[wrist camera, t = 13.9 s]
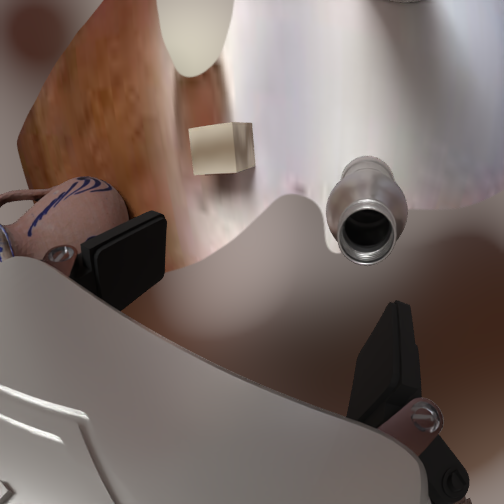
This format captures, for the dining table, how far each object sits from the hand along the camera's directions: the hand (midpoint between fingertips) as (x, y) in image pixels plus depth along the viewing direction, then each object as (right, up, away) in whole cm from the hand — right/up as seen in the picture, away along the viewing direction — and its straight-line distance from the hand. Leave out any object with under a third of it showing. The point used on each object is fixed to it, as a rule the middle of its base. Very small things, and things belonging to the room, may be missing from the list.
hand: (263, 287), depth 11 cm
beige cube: (-3, +16, +26) cm, 31 cm away
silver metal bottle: (+14, +10, +22) cm, 28 cm away
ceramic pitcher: (-29, +11, +41) cm, 51 cm away
